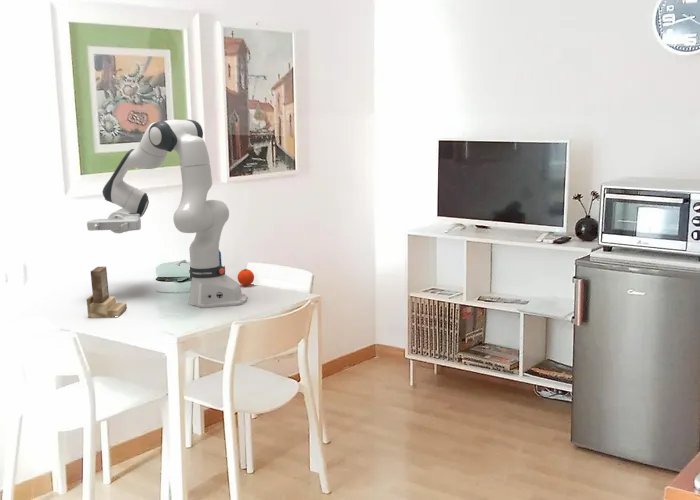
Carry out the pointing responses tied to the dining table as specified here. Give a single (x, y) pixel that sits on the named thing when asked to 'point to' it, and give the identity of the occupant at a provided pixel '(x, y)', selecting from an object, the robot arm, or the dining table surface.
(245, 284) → the clementine
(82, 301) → the dining table surface
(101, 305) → the oak notch rail
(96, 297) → the brown wooden block
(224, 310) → the dining table surface
